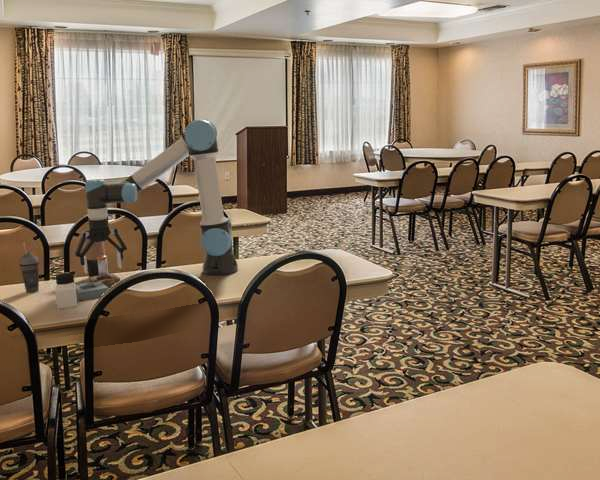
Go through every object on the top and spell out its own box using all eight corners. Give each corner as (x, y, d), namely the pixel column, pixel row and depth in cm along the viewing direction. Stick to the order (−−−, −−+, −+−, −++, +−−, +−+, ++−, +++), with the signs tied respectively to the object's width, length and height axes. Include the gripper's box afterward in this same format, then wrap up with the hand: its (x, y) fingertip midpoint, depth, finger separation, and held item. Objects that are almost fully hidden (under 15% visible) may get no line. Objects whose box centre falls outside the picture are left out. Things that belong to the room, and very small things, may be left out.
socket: (100, 288, 250) (99, 281, 249) (108, 294, 240) (108, 287, 239) (68, 293, 243) (68, 286, 243) (76, 300, 233) (75, 293, 233)
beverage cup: (35, 294, 244) (29, 244, 240) (18, 294, 245) (12, 244, 241) (46, 289, 251) (40, 240, 247) (29, 288, 252) (23, 240, 248)
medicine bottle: (78, 306, 226) (74, 274, 223) (57, 309, 223) (53, 277, 221) (78, 301, 232) (74, 270, 230) (57, 304, 230) (54, 272, 228)
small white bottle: (107, 283, 257) (105, 254, 254) (110, 285, 254) (107, 256, 252) (99, 284, 255) (96, 256, 253) (101, 286, 252) (98, 257, 250)
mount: (113, 280, 261) (112, 273, 261) (120, 285, 253) (120, 278, 252) (89, 284, 256) (88, 277, 255) (95, 289, 248) (94, 282, 247)
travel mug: (110, 275, 270) (105, 229, 266) (102, 279, 262) (98, 233, 258) (93, 275, 271) (88, 230, 267) (85, 280, 263) (80, 233, 259)
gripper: (126, 213, 259) (130, 263, 263) (63, 220, 246) (68, 273, 250) (131, 216, 252) (136, 267, 257) (67, 223, 239) (73, 277, 244)
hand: (103, 270), depth 253 cm, fingers open, 13 cm apart
